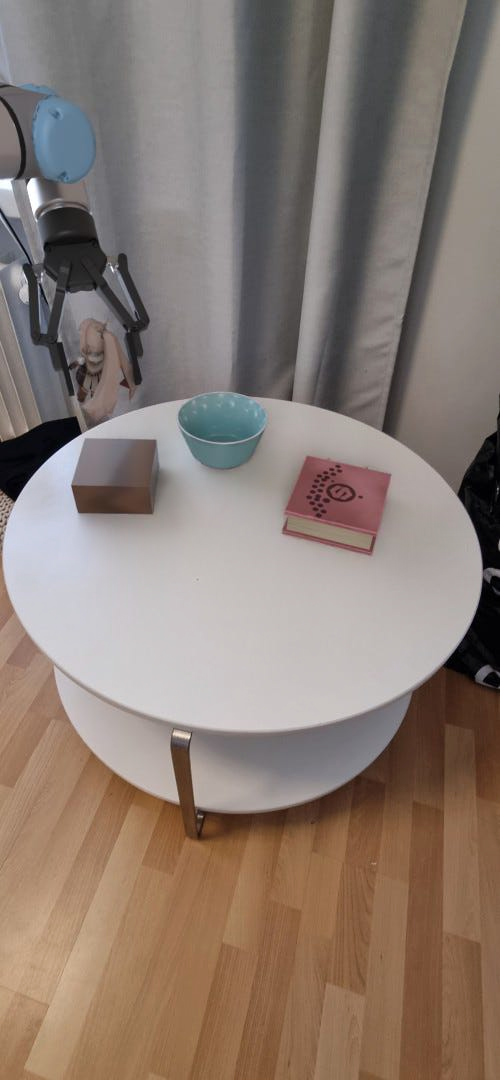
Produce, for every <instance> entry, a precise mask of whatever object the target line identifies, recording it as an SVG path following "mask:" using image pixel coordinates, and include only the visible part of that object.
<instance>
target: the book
mask: <svg viewBox="0 0 500 1080" xmlns="http://www.w3.org/2000/svg"><path fill="white" fill-rule="evenodd" d="M391 479H392V473H389V472H383V471H380V470H376V469H371V468H369V467H368V466H365V467H362V466H356V465H353V464H347V463H344V462H339V461H334V460H331V459H330V458H329V457H327V458H321V457H316V456H312V455H308V454H307V455H306V456H305V458H304V461H303V463H302V466H301V468H300V471H299V474H298V475H297V478H296V480H295V483H294V486H293V488H292V490H291V493H290V495H289V498H288V501H287V503H286V504H285V505H286V506H285V508H284V511H283V515H285V516H287V517H286V520H285V521H284V522H285V523H284V525H283V527H282V530H281V534H282V535H285V536H289V537H293V538H297V539H302V540H306V541H309V542H313V543H316V544H317V543H318V544H322V545H325V546H329V547H334V548H337V549H341V550H345V551H350V552H352V553H353V552H354V553H358V554H362V555H365V556H369V557H372V556H373V552H374V548H375V544H376V541H377V538H378V535H379V530H380V526H381V522H382V517H383V514H384V508H385V504H386V500H387V496H388V491H389V487H390V483H391Z"/></svg>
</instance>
